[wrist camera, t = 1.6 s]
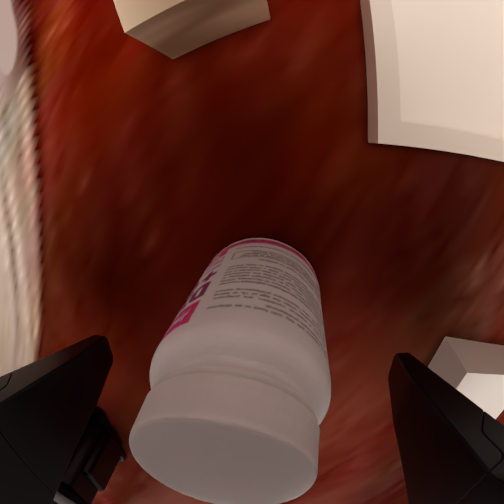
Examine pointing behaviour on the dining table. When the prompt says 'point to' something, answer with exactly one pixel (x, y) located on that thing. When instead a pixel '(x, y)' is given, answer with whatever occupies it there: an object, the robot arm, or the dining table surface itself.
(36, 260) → the dining table surface
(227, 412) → the pill bottle
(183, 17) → the beech block
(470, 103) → the tray
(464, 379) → the white block
